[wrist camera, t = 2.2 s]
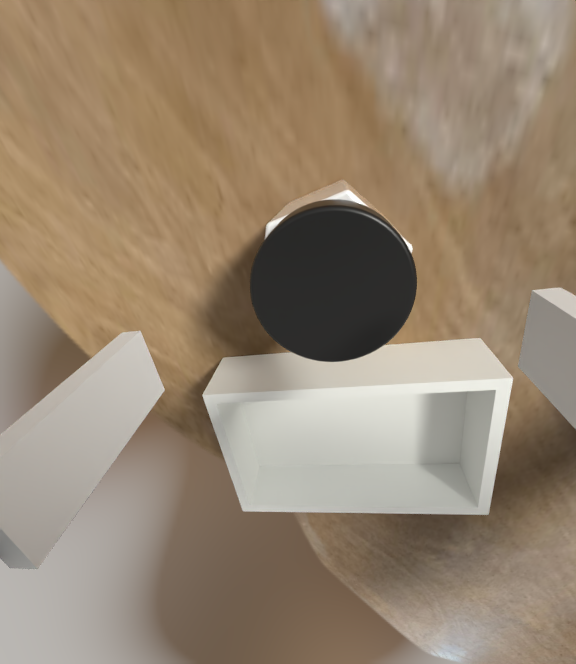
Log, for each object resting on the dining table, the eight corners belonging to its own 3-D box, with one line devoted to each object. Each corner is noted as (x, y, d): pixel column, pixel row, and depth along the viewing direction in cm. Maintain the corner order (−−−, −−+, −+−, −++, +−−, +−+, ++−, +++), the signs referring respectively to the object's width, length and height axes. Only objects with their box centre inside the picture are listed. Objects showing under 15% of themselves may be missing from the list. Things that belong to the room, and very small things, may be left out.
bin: (480, 337, 29) (513, 377, 23) (465, 462, 36) (488, 514, 30) (223, 357, 33) (202, 395, 28) (254, 464, 40) (242, 511, 35)
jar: (299, 301, 29) (279, 382, 19) (261, 212, 26) (212, 249, 16) (400, 267, 27) (443, 338, 16) (372, 164, 24) (404, 168, 13)
